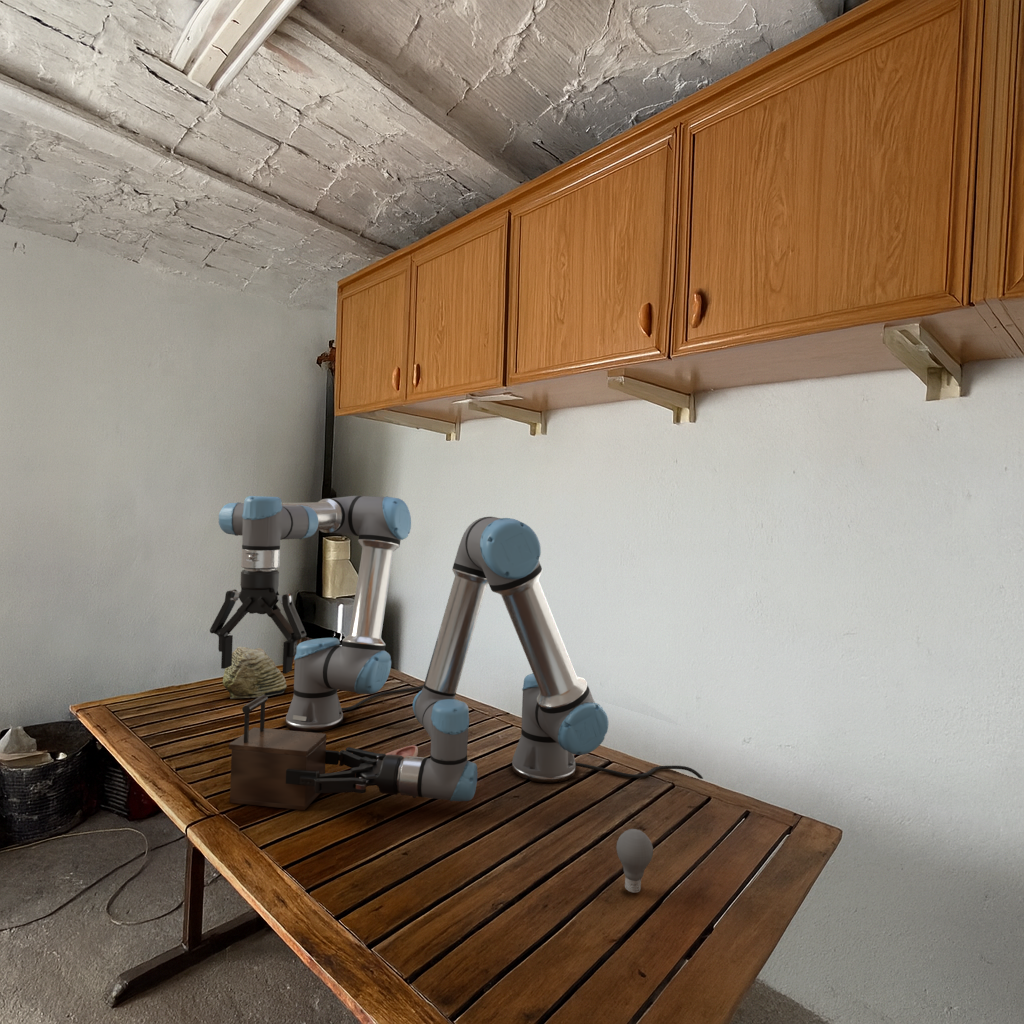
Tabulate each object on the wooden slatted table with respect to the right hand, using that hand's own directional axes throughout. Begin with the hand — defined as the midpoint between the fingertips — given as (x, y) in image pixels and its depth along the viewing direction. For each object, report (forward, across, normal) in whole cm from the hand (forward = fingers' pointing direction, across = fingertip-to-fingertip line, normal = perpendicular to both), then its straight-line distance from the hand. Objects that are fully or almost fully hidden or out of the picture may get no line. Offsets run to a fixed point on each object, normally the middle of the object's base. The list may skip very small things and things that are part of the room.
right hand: (298, 765), depth 133 cm
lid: (+5, 0, +4) cm, 6 cm away
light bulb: (-68, -20, -7) cm, 71 cm away
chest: (+4, 0, -7) cm, 8 cm away
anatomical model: (-14, +18, -7) cm, 24 cm away
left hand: (+10, 0, +20) cm, 22 cm away
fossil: (+43, +60, -7) cm, 74 cm away
